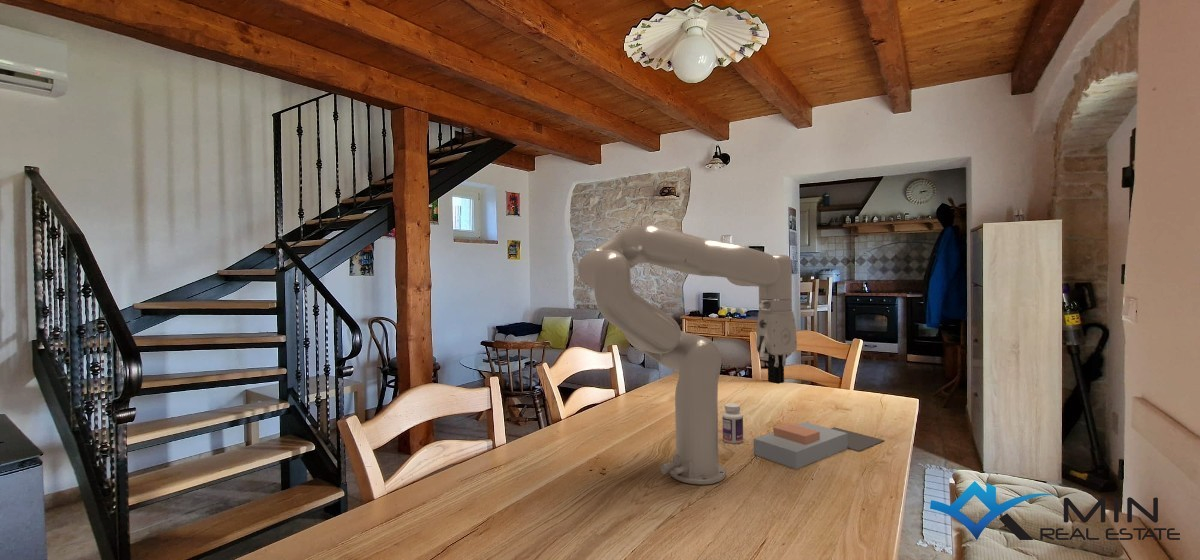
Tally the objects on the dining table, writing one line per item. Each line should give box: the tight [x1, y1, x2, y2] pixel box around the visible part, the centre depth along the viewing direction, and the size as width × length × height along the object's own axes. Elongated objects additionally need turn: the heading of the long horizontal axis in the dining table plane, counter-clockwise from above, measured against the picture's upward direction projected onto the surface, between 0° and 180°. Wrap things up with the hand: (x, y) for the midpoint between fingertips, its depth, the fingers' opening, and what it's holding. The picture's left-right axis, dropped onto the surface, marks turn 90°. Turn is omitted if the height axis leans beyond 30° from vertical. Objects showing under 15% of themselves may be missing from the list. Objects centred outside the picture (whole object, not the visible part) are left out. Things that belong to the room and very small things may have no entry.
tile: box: [773, 422, 820, 445], centre depth 129 cm, size 6×9×2 cm, turn 35°
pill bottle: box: [721, 402, 744, 444], centre depth 139 cm, size 5×5×10 cm
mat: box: [830, 426, 886, 453], centre depth 139 cm, size 13×14×1 cm
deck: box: [753, 421, 848, 470], centre depth 130 cm, size 22×12×4 cm, turn 125°
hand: (775, 382), depth 124 cm, fingers closed
